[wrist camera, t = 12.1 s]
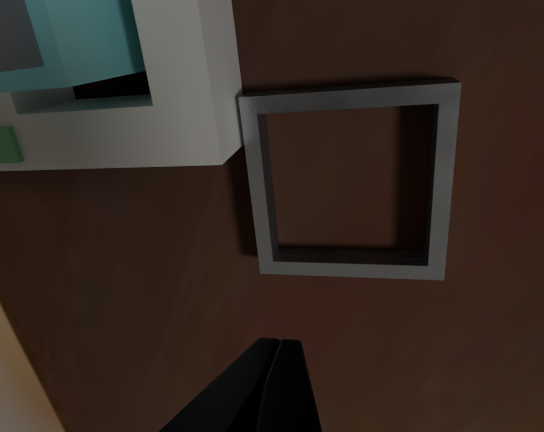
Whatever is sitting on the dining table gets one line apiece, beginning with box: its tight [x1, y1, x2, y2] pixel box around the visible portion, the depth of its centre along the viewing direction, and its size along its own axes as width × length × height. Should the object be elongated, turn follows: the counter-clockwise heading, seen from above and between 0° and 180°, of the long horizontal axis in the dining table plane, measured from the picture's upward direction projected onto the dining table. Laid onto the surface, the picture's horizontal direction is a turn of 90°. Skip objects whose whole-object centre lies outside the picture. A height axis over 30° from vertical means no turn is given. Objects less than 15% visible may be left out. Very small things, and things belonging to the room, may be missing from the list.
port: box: [0, 0, 244, 171], centre depth 17 cm, size 12×12×4 cm
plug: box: [0, 0, 146, 93], centre depth 15 cm, size 4×4×9 cm
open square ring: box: [239, 78, 461, 280], centre depth 19 cm, size 9×9×2 cm
